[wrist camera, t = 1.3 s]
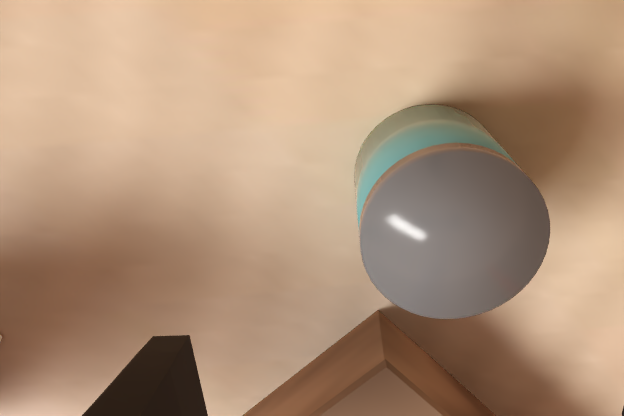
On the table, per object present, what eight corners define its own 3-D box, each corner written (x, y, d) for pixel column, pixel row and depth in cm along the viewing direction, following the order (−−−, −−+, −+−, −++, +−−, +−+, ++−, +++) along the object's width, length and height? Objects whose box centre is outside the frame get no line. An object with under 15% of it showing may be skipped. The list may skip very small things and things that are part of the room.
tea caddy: (528, 176, 19) (588, 243, 15) (418, 263, 21) (441, 348, 16) (434, 72, 18) (468, 111, 13) (324, 174, 20) (321, 239, 15)
